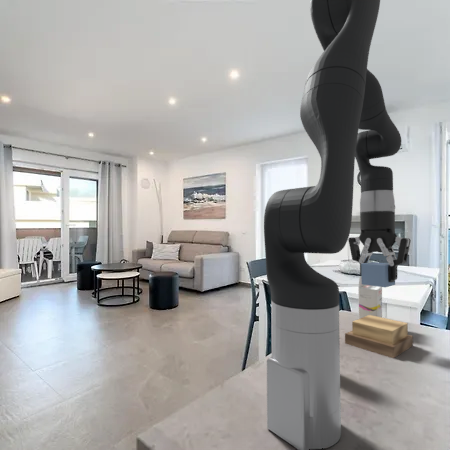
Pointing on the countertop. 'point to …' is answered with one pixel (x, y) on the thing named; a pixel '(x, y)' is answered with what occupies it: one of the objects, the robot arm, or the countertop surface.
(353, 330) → the oak top slab
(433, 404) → the countertop surface
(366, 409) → the countertop surface
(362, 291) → the ink cartridge box
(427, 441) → the countertop surface
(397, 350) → the walnut base slab
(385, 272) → the slate block
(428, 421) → the countertop surface
